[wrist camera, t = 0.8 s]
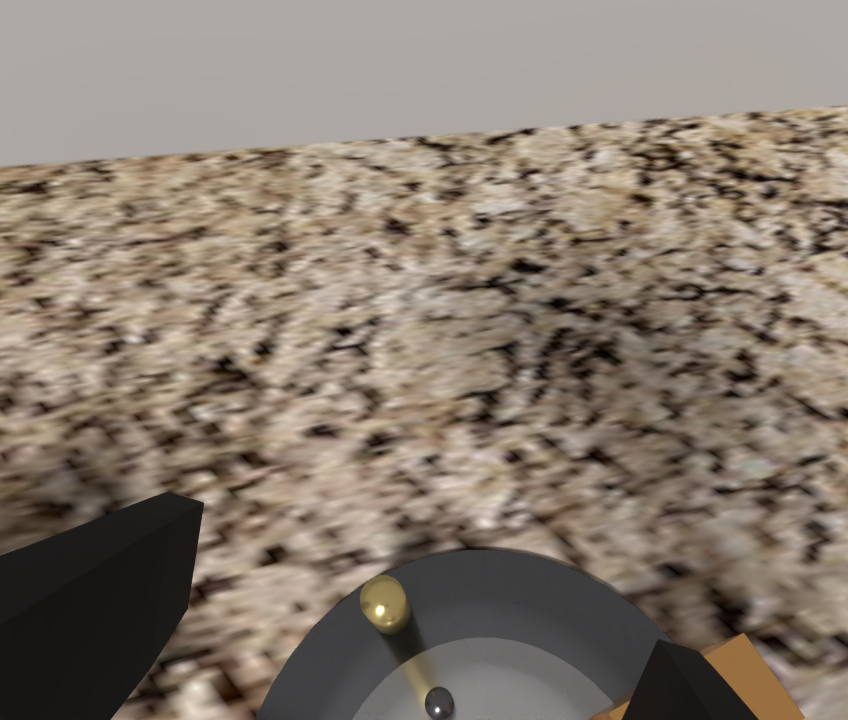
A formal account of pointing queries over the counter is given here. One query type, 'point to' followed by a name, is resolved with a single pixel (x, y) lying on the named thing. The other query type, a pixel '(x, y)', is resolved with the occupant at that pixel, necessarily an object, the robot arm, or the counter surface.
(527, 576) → the post base
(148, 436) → the counter surface
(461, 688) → the flange plate
